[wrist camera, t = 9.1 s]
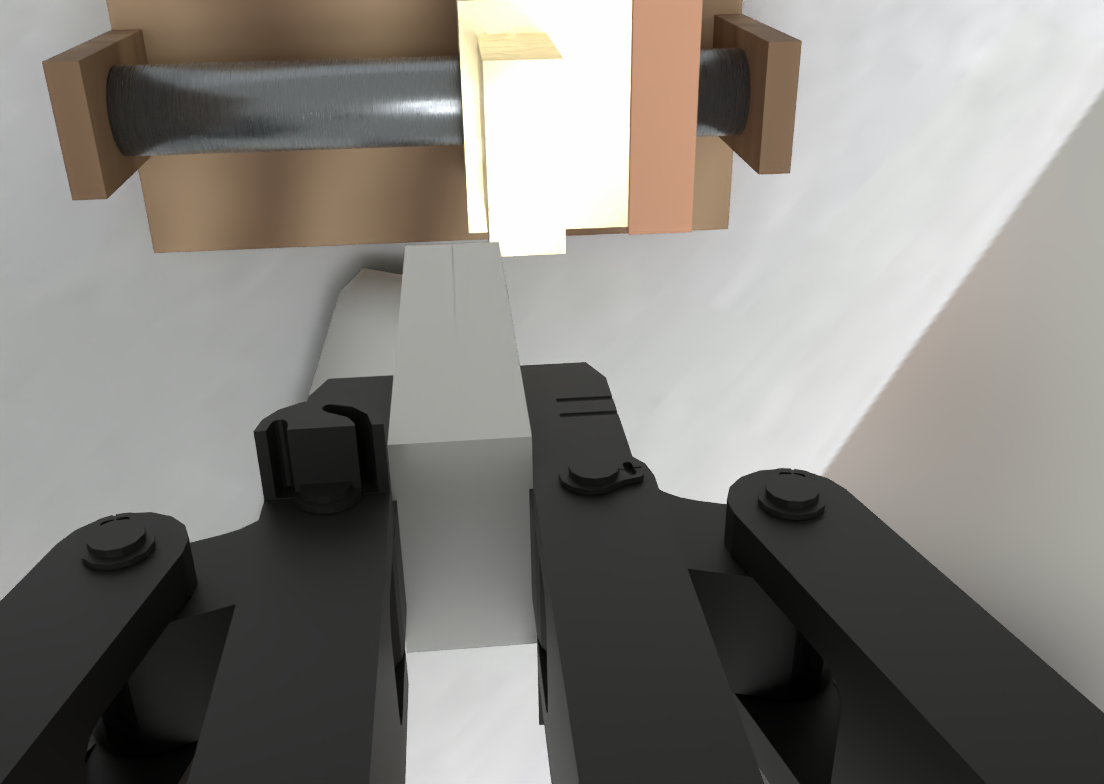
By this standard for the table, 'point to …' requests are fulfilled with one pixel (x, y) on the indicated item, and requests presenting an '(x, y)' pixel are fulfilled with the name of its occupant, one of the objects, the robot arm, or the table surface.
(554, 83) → the sleeve
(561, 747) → the robot arm
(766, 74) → the base board
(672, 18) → the square pink collar
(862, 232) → the table surface
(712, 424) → the table surface
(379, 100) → the pipe
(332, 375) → the tube
